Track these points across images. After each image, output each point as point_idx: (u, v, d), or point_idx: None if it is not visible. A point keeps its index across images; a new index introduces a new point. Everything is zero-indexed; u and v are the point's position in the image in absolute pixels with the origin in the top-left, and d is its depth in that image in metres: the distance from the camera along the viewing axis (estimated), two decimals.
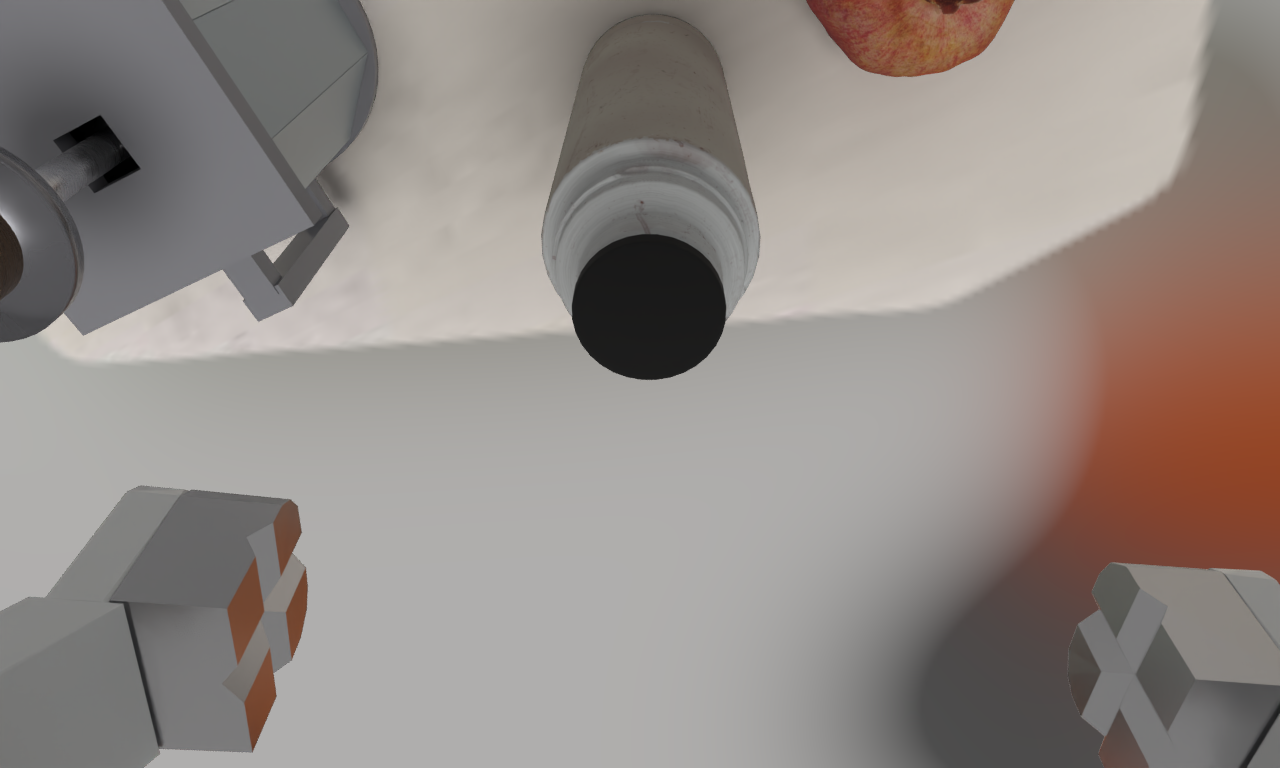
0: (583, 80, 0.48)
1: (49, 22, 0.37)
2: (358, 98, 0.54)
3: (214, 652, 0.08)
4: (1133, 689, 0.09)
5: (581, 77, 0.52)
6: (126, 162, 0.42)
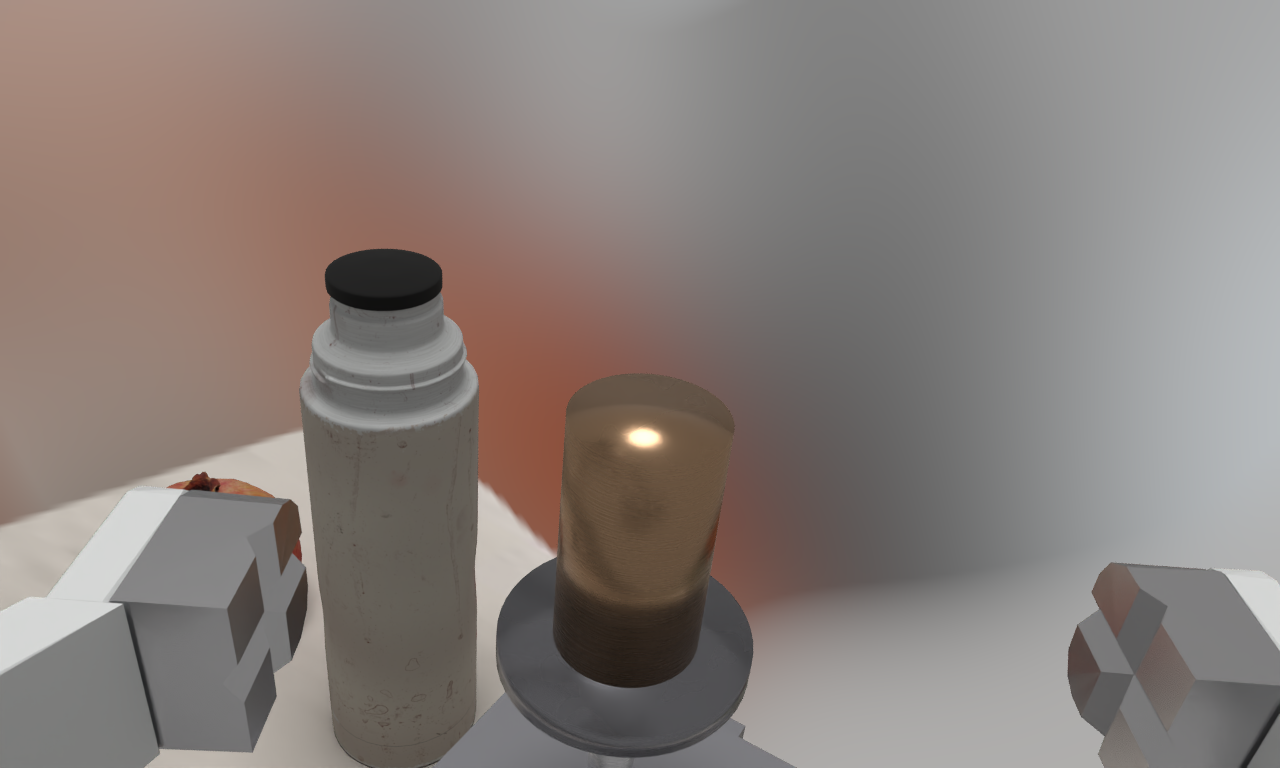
0: (388, 685, 0.50)
1: None
2: None
3: (214, 652, 0.08)
4: (1133, 689, 0.09)
5: (406, 730, 0.52)
6: None
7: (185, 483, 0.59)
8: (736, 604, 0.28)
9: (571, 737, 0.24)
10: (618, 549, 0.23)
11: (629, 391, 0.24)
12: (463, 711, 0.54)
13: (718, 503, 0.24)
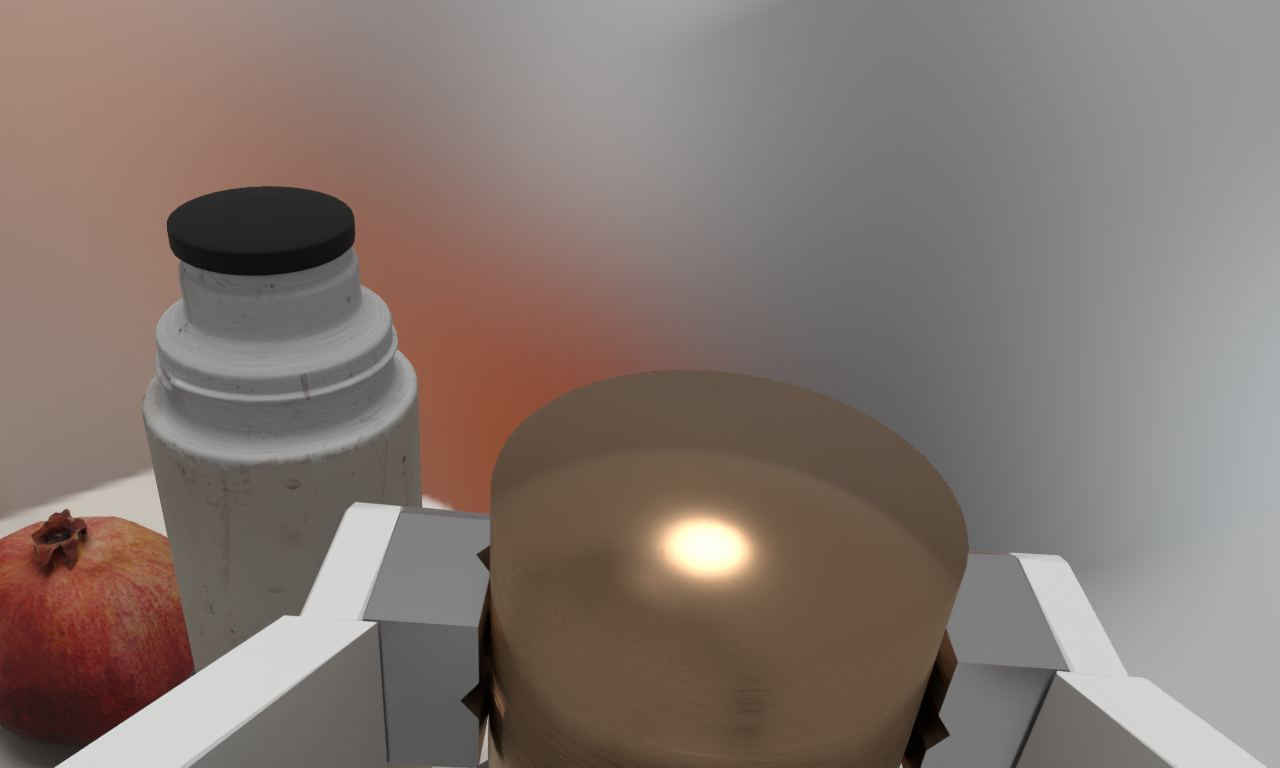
0: None
1: None
2: None
3: (457, 669, 0.08)
4: None
5: None
6: None
7: None
8: None
9: None
10: None
11: (665, 416, 0.09)
12: None
13: None
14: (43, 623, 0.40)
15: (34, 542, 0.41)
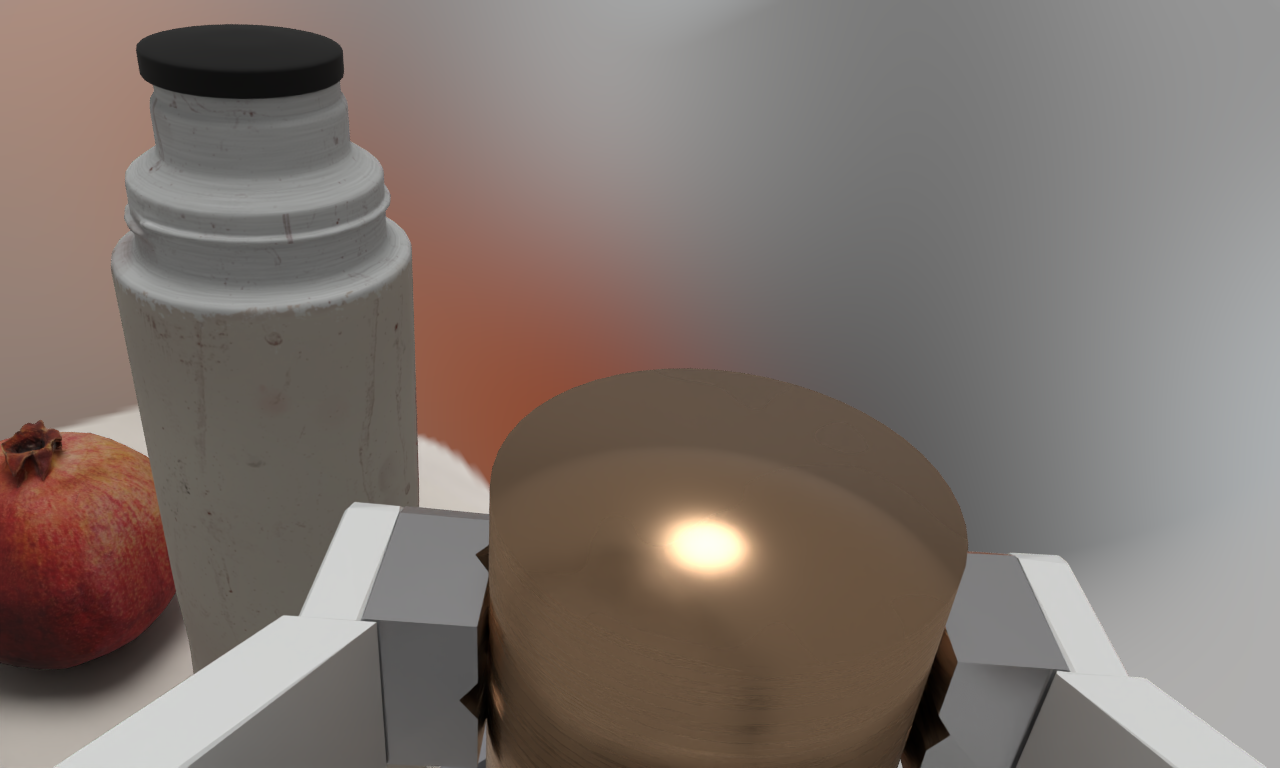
0: None
1: None
2: None
3: (456, 669, 0.08)
4: None
5: None
6: None
7: None
8: None
9: None
10: None
11: (665, 414, 0.09)
12: (404, 766, 0.37)
13: None
14: (12, 533, 0.37)
15: (4, 451, 0.39)
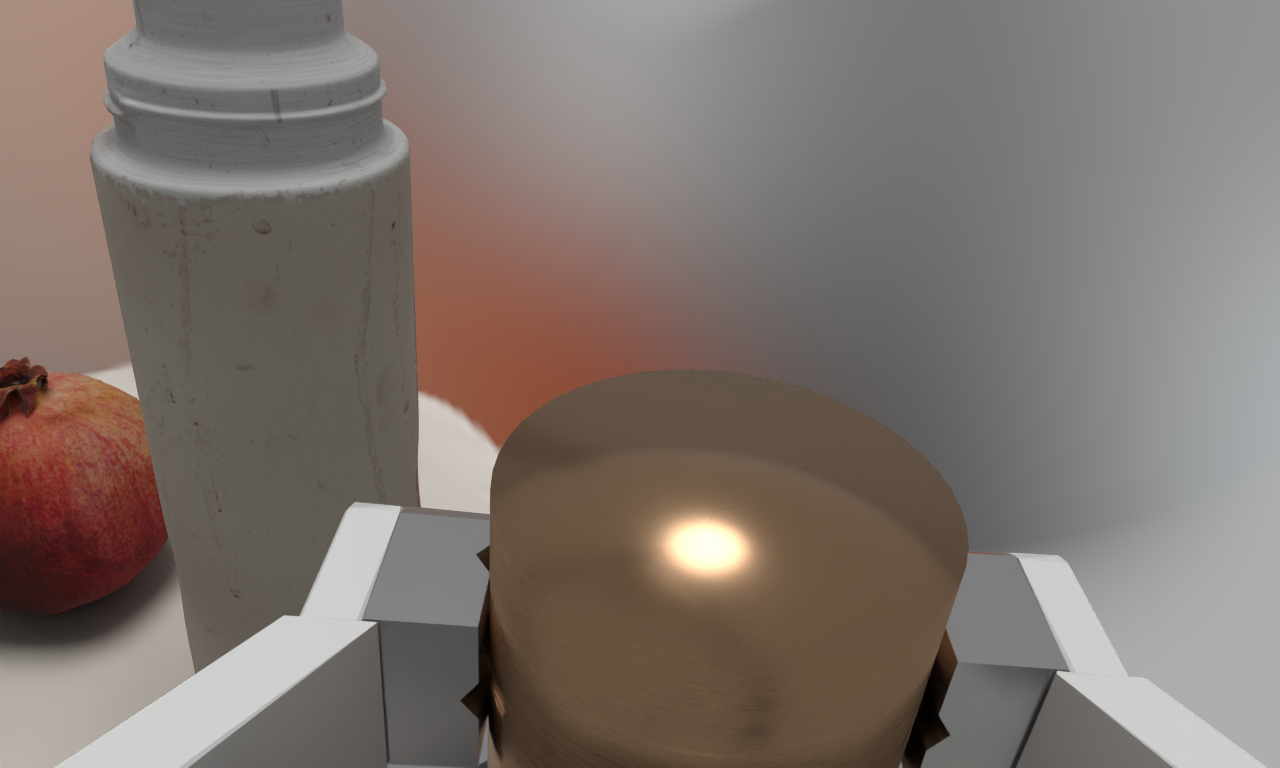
0: None
1: None
2: None
3: (457, 670, 0.08)
4: None
5: None
6: None
7: None
8: None
9: None
10: None
11: (665, 416, 0.09)
12: None
13: None
14: None
15: None
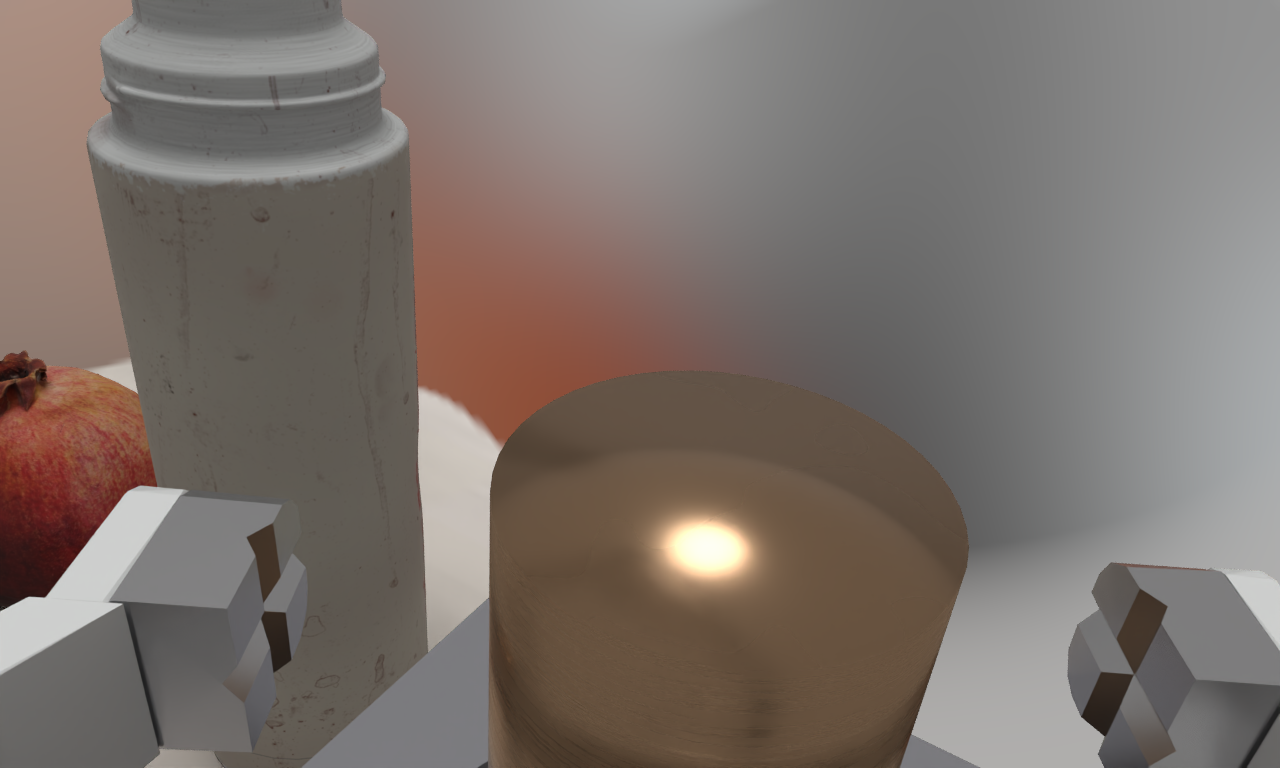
0: None
1: None
2: None
3: (214, 652, 0.08)
4: (1133, 689, 0.09)
5: (310, 734, 0.33)
6: None
7: None
8: None
9: None
10: None
11: (665, 417, 0.09)
12: None
13: None
14: None
15: None
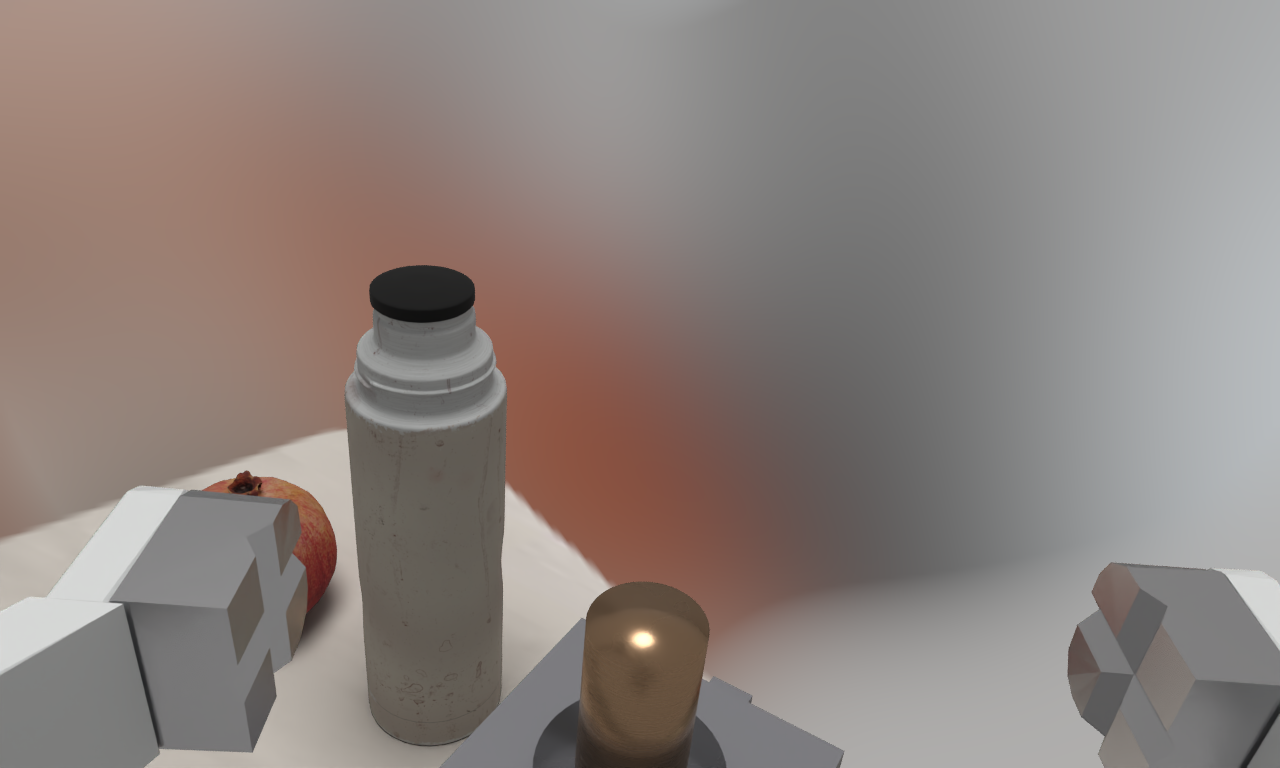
0: (423, 665, 0.54)
1: None
2: None
3: (214, 652, 0.08)
4: (1133, 689, 0.09)
5: (439, 707, 0.56)
6: None
7: (229, 481, 0.64)
8: (715, 741, 0.37)
9: None
10: (624, 724, 0.32)
11: (632, 600, 0.33)
12: (490, 690, 0.58)
13: (698, 686, 0.32)
14: None
15: (230, 492, 0.61)
